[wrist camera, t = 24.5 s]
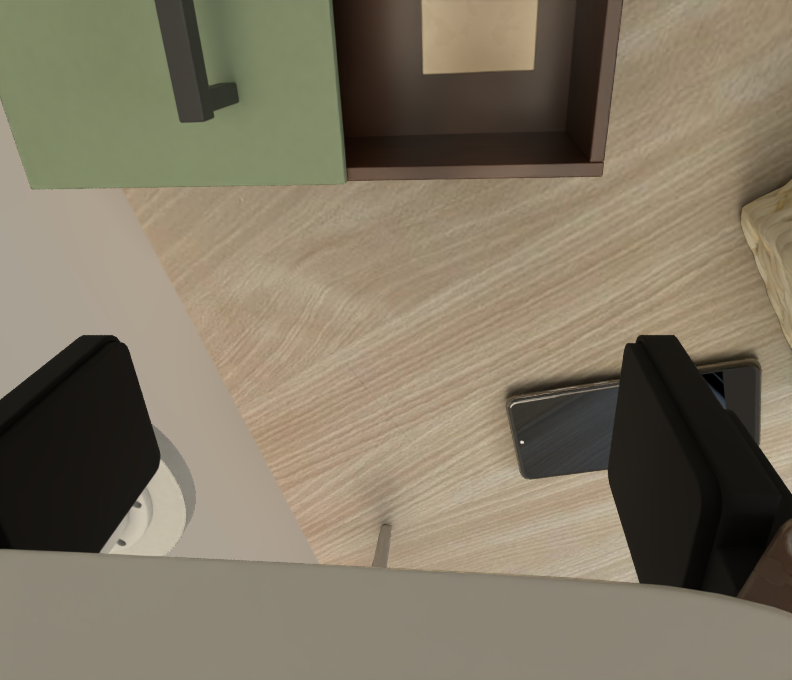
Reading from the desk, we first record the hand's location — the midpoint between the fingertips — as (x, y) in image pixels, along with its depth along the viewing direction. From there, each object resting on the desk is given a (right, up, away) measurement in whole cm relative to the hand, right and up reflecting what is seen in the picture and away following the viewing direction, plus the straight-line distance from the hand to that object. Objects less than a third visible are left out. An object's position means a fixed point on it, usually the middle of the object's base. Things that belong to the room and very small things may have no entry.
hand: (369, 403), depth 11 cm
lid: (-9, +14, +13) cm, 22 cm away
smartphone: (+17, -4, +30) cm, 34 cm away
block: (+5, +18, +19) cm, 26 cm away
